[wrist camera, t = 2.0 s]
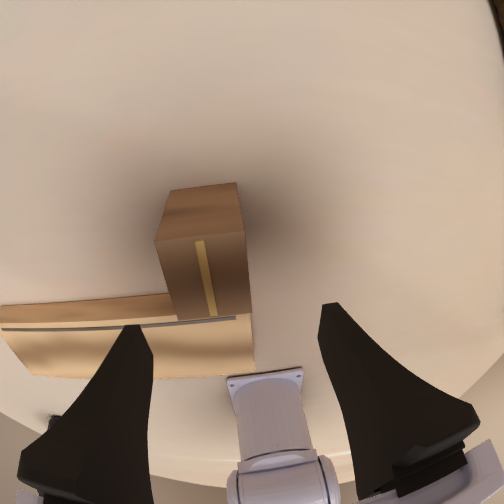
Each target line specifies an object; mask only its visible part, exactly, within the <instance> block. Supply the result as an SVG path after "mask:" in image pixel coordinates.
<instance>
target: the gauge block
mask: <svg viewBox="0 0 504 504" xmlns="http://www.w3.org/2000/svg"><path fill="white" fill-rule="evenodd" d="M155 245H156V249H157V253H158V256H159V260H160V263H161V267H162V270H163V274H164V277H165V281H166V284H167V287H168V291H169V294H170V297H171V300H172V303H173V307H174V310H175V313H176V316H177V319H178V321H181V320H192V319H202V318H212V317H221V316H230V315H239V314H247V313H252V305H251V294H250V283H249V272H248V261H247V250H246V239H245V229H244V224H243V219H242V213H241V208H240V203H239V197H238V192H237V187H236V182H235V183H226V184H217V185H209V186H201V187H194V188H186V189H179V190H172V191H171V192H170V194H169V197H168V200H167V203H166V206H165V210H164V213H163V216H162V219H161V222H160V225H159V228H158V232H157V235H156V238H155Z"/></svg>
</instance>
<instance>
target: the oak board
mask: <svg viewBox="0 0 504 504" xmlns="http://www.w3.org/2000/svg"><path fill="white" fill-rule="evenodd" d="M133 324H139V325H140V327H141V329H142V332H143V334H144V336H145V338H146V340H147V343H148V345H149V347H150V349H151V351H152V353H153V355H154V369H153V379H174V378H191V377H205V376H216V375H227V374H236V373H245V372H253V371H256V370H255V360H254V350H253V341H252V331H251V321H250V313H247V314H239V315H230V316H221V317H212V318H202V319H192V320H181V321H178V319H177V316H176V313H175V310H174V307H173V303H172V300H171V297H170V294H169V293H168V294H158V295H147V296H137V297H125V298H114V299H102V300H89V301H76V302H62V303H46V304H30V305H11V306H2V307H1V308H0V335H1V336H2V338H3V339H4V340H5V342H6V343H7V344H8V346H9V347H10V348H11V349H12V351H13V352H14V353H15V355H16V356H17V357H18V358H19V360H20V361H21V362H22V363H23V364H24V366H25V367H26V368H27V369H28V370H29V371H30V373H31V374H32V375H37V376H48V377H60V378H76V379H92V377H93V376H94V374H95V373H96V371H97V370H98V368H99V367H100V365H101V363H102V362H103V360H104V359H105V357H106V355H107V354H108V352H109V351H110V349H111V347H112V346H113V344H114V342H115V341H116V339H117V337H118V336H119V334H120V332H121V331H122V329H123V327H124V326H125V325H133Z"/></svg>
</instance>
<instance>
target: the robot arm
mask: <svg viewBox="0 0 504 504" xmlns="http://www.w3.org/2000/svg"><path fill="white" fill-rule="evenodd" d="M318 342H319V346H320V351H321V354H322V358H323V362H324V364H325V367H326V370H327V372H328V375H329V378H330V380H331V383H332V385H333V388H334V391H335V393H336V396H337V399H338V401H339V404H340V407H341V410H342V414H343V418H344V422H345V426H346V430H347V435H348V440H349V444H350V449H351V455H352V461H353V467H354V474H355V482H356V491H357V495H358V499H359V502H356V503H353V504H481V503H483V502H484V501H485V500H487V499H488V498H489V497H490V496H492V495H493V494H494V493H496V492H497V491H498V490H500V489H501V488H502V487H503V486H504V471H503V468H502V466H501V463H500V461H499V459H498V456H497V454H496V451H495V449H494V447H493V444H492V443H491V440H490V439H488V440H486V441H484V442H483V443H481V444H480V445H478V446H476V447H475V448H473V449H471V450H470V451H468V452H467V453H465V454H464V452H463V450H462V449H463V448H465V444H464V442H463V440H464V439H465V438H466V437H467V436H468V435H470V434H471V433H472V432H473V431H475V430H476V429H477V428H478V427H479V425H480V420H479V418H478V416H477V414H476V412H475V410H474V408H473V406H472V405H471V404H469V403H467V402H464V401H462V400H459V399H457V398H455V397H453V396H451V395H449V394H447V393H445V392H443V391H441V390H439V389H437V388H435V387H434V386H432V385H430V384H429V383H427V382H426V381H424V380H422V379H421V378H419V377H417V376H416V375H415V374H413V373H412V372H410V371H409V370H408V369H406V368H405V367H404V366H402V365H401V364H400V363H398V362H397V361H396V360H395V359H394V358H392V357H391V356H390V355H389V354H388V353H387V352H386V351H384V350H383V349H382V348H381V347H380V346H379V345H378V344H377V343H376V342H375V341H374V340H373V339H372V338H371V337H370V336H369V335H368V334H367V333H366V332H365V331H364V330H363V329H362V328H361V327H360V326H359V325H358V324H357V323H356V322H355V321H354V320H353V319H352V318H351V316H350V315H349V314H348V313H347V312H346V311H345V310H344V309H343V308H342V307H341V305H340V304H339V303H337V302H335V303H329V304H323V305H322V312H321V319H320V325H319V332H318ZM153 369H154V355H153V353H152V351H151V349H150V347H149V345H148V343H147V340H146V338H145V336H144V334H143V332H142V329H141V327H140V325H139V324H133V325H125V326H124V327H123V329H122V331H121V332H120V334H119V336H118V337H117V339H116V341H115V342H114V344H113V346H112V347H111V349H110V351H109V352H108V354H107V355H106V357H105V359H104V360H103V362H102V363H101V365H100V367H99V368H98V370H97V371H96V373H95V374H94V376H93V377H92V379H91V380H90V381H89V383H88V384H87V386H86V387H85V389H84V390H83V391H82V393H81V394H80V395H79V397H78V398H77V399H76V400H75V402H74V403H73V404H72V405H71V406H70V407H69V409H68V410H67V411H66V412H65V413H64V414H63V415H62V416H61V417H60V418H59V420H58V421H57V422H56V423H55V424H54V425H52V426H51V427H50V428H49V429H48V430H47V431H46V432H45V433H44V434H43V435H42V436H41V437H39V438H38V439H37V440H35V441H34V442H33V443H32V444H30V445H29V446H28V447H26V448H25V449H24V450H22V452H21V456H20V461H19V467H18V473H17V478H18V479H19V480H20V481H22V482H23V483H25V484H27V485H29V486H31V487H33V488H35V489H37V490H39V491H41V492H43V493H44V498H42V497H40V496H37V495H35V494H31V493H29V492H26V491H24V490H21V489H17V496H16V504H154V501H153V496H152V490H151V482H150V474H149V462H148V441H147V430H148V418H149V409H150V401H151V393H152V385H153ZM303 374H304V372H303V369H301V368H298V369H292V370H286V371H279V372H273V373H266V374H258V375H251V376H242V377H233V378H228V379H227V386H228V390H229V394H230V397H231V401H232V405H233V408H234V412H235V416H236V420H237V429H238V438H239V447H240V456H241V462H238V463H237V464H238V470H234V471H232V473H231V474H230V476H229V477H228V479H227V499H228V504H340V500H341V498H340V490H339V484H338V480H337V476H336V472H335V469H334V466H333V464H332V461H331V460H330V459H329V458H327V457H325V455H320V456H317V452H316V449H313V446H312V442H311V438H310V434H309V430H308V426H307V422H306V418H305V413H304V409H303V405H302V401H301V397H300V396H301V389H302V382H303ZM379 494H380V495H379ZM376 495H378V496H376ZM373 496H375V497H373ZM370 497H372V498H370ZM367 498H369V499H367ZM364 499H366V500H364ZM361 500H363V501H361Z"/></svg>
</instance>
